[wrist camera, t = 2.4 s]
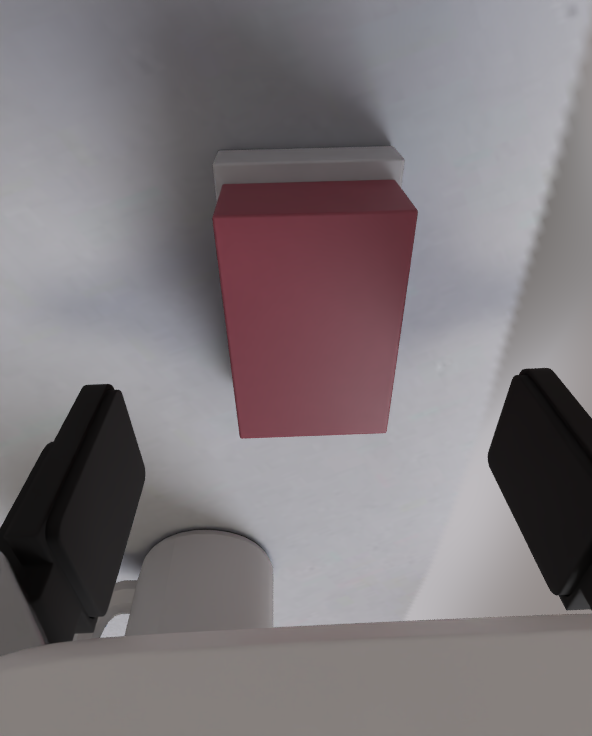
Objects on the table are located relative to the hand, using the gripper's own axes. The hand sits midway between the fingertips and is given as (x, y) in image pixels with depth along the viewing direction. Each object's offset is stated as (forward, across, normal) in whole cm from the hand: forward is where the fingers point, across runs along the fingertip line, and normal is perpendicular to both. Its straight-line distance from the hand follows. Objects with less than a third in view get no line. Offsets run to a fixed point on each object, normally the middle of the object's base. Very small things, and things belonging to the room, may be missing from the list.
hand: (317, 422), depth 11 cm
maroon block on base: (+6, 0, 0) cm, 6 cm away
